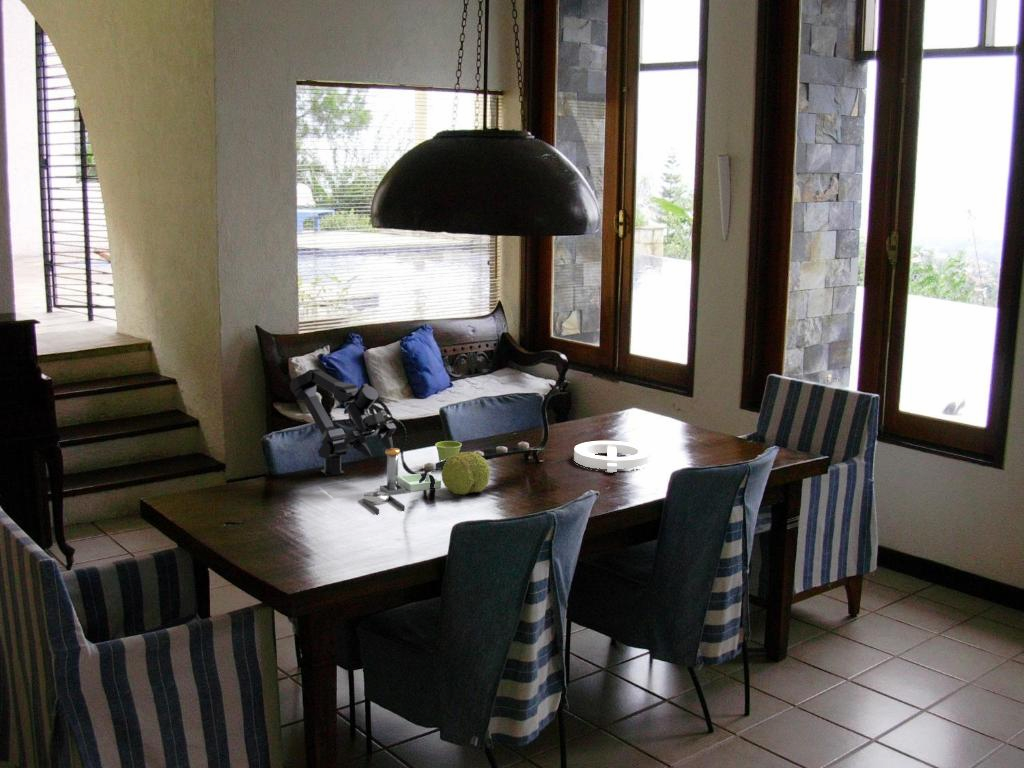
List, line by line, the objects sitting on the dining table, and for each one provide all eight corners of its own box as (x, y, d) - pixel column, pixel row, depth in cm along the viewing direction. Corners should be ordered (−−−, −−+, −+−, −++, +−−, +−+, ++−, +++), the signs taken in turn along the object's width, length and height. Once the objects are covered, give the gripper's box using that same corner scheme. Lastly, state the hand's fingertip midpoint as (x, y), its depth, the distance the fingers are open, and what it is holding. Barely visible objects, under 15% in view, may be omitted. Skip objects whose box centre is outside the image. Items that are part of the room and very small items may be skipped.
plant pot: (449, 472, 399) (450, 448, 397) (429, 467, 404) (430, 444, 402) (466, 467, 406) (467, 443, 404) (446, 462, 411) (447, 439, 410)
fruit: (472, 503, 364) (450, 462, 362) (447, 508, 375) (426, 469, 373) (505, 478, 374) (484, 439, 372) (480, 484, 385) (459, 446, 384)
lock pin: (383, 489, 374) (383, 448, 372) (396, 487, 377) (396, 447, 374) (388, 493, 370) (388, 452, 368) (402, 491, 373) (402, 450, 370)
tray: (397, 484, 382) (397, 476, 382) (427, 481, 388) (427, 472, 387) (410, 493, 373) (410, 484, 372) (440, 489, 378) (440, 480, 378)
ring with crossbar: (611, 449, 438) (612, 437, 437) (665, 465, 417) (665, 452, 416) (558, 460, 420) (558, 447, 419) (611, 477, 399) (612, 464, 398)
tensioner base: (374, 490, 375) (374, 485, 375) (399, 487, 380) (399, 482, 379) (385, 497, 368) (385, 492, 367) (410, 494, 372) (410, 489, 372)
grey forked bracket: (358, 500, 364) (358, 491, 363) (385, 497, 368) (385, 487, 367) (376, 515, 350) (376, 505, 349) (404, 511, 354) (404, 501, 354)
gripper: (349, 407, 368) (371, 446, 363) (392, 399, 382) (414, 436, 376) (334, 426, 375) (355, 464, 370) (377, 418, 389) (399, 455, 383)
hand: (382, 454), depth 375 cm, fingers open, 9 cm apart
